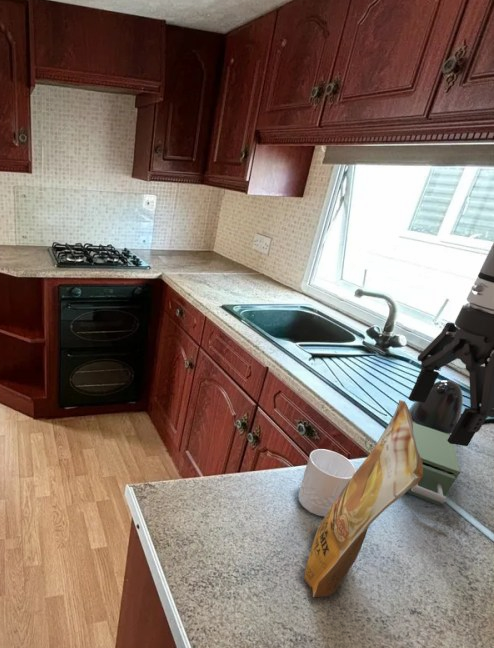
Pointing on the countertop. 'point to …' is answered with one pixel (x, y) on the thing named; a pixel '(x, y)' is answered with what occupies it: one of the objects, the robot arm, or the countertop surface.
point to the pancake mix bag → (364, 503)
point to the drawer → (433, 484)
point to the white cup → (324, 480)
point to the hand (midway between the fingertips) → (434, 420)
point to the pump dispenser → (439, 407)
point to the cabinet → (436, 449)
